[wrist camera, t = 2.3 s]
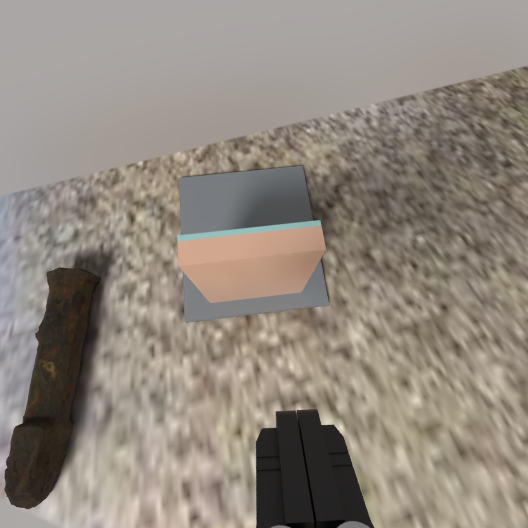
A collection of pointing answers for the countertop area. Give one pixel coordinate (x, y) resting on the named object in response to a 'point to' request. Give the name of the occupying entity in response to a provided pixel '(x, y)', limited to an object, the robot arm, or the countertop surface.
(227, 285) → the tile
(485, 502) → the countertop surface
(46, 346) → the hand tool
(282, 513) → the robot arm
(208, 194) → the mat
